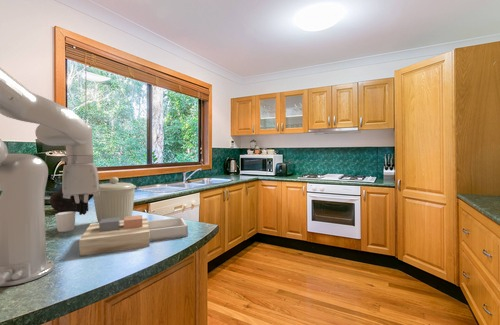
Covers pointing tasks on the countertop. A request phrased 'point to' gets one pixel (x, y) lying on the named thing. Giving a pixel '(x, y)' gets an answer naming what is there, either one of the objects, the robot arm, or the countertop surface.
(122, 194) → the canister
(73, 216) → the shot glass
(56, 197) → the dark brown vase
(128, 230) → the board
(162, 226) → the bin
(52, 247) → the countertop surface
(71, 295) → the countertop surface
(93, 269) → the countertop surface
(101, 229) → the slate tile
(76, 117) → the robot arm
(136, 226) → the terracotta tile
